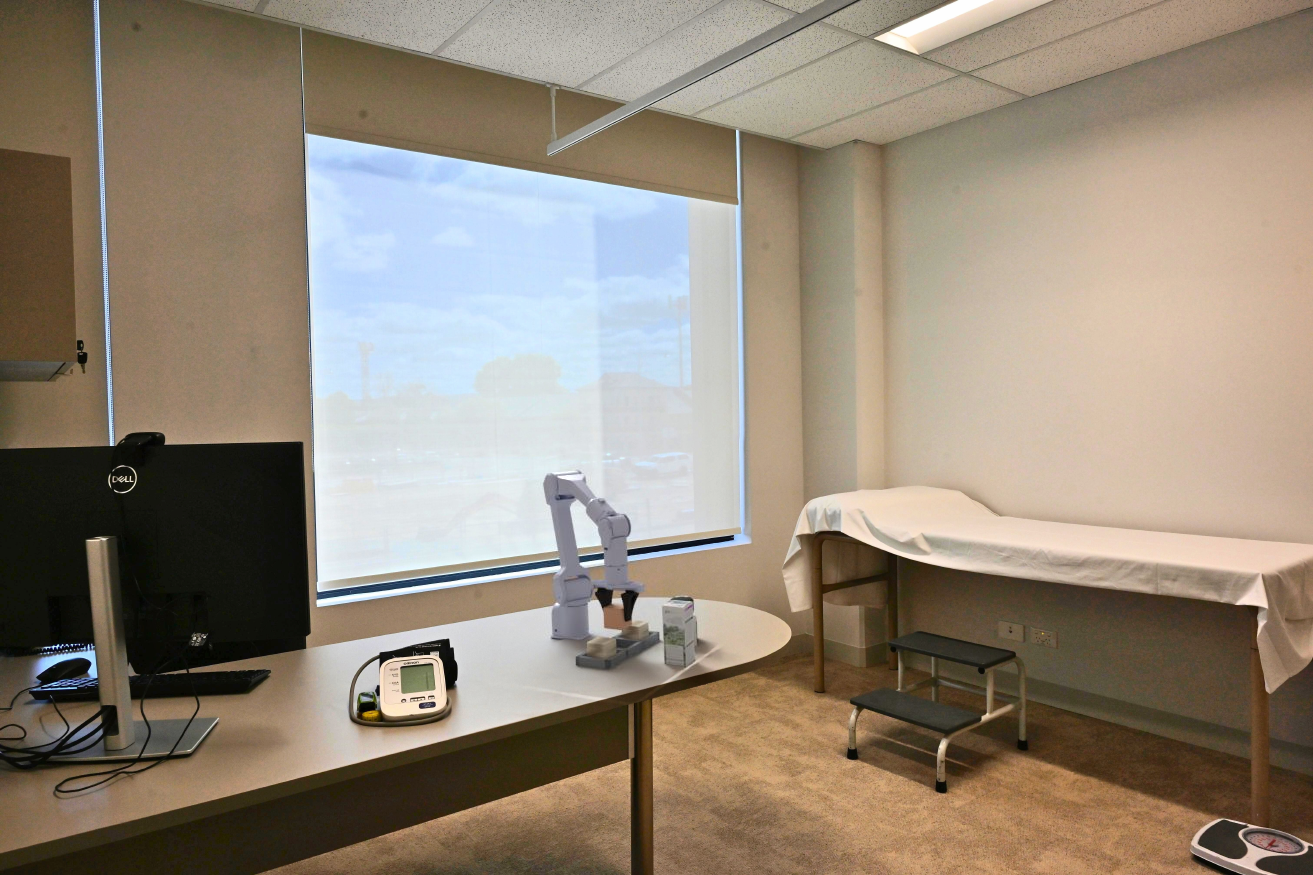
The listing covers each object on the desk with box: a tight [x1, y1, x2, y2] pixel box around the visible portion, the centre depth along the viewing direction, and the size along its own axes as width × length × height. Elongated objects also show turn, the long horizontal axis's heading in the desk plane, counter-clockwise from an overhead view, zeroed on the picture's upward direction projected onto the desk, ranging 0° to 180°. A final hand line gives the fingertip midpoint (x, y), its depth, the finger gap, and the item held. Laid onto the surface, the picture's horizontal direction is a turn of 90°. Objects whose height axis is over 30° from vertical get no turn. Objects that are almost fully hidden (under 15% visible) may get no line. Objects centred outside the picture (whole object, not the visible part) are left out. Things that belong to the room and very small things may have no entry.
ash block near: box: [586, 636, 617, 659], centre depth 193 cm, size 5×5×5 cm
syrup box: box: [661, 599, 696, 669], centre depth 191 cm, size 6×6×14 cm
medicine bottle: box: [670, 595, 699, 647], centre depth 206 cm, size 7×7×12 cm
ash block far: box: [621, 619, 650, 640], centre depth 207 cm, size 5×5×5 cm
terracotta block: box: [602, 602, 633, 631], centre depth 200 cm, size 5×5×5 cm
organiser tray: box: [575, 630, 660, 671], centre depth 200 cm, size 9×25×3 cm, turn 152°
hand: (618, 619), depth 200 cm, fingers closed on terracotta block, 5 cm apart
